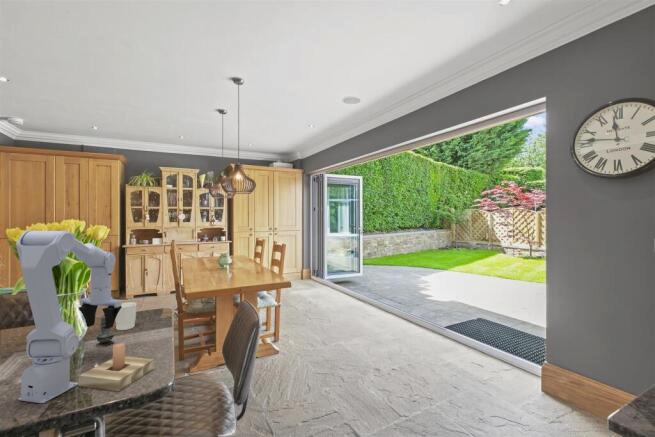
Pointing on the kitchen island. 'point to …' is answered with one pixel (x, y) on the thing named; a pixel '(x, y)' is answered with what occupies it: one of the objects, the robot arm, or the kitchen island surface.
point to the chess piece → (104, 334)
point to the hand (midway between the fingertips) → (100, 326)
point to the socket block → (115, 374)
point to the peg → (118, 357)
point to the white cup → (126, 316)
